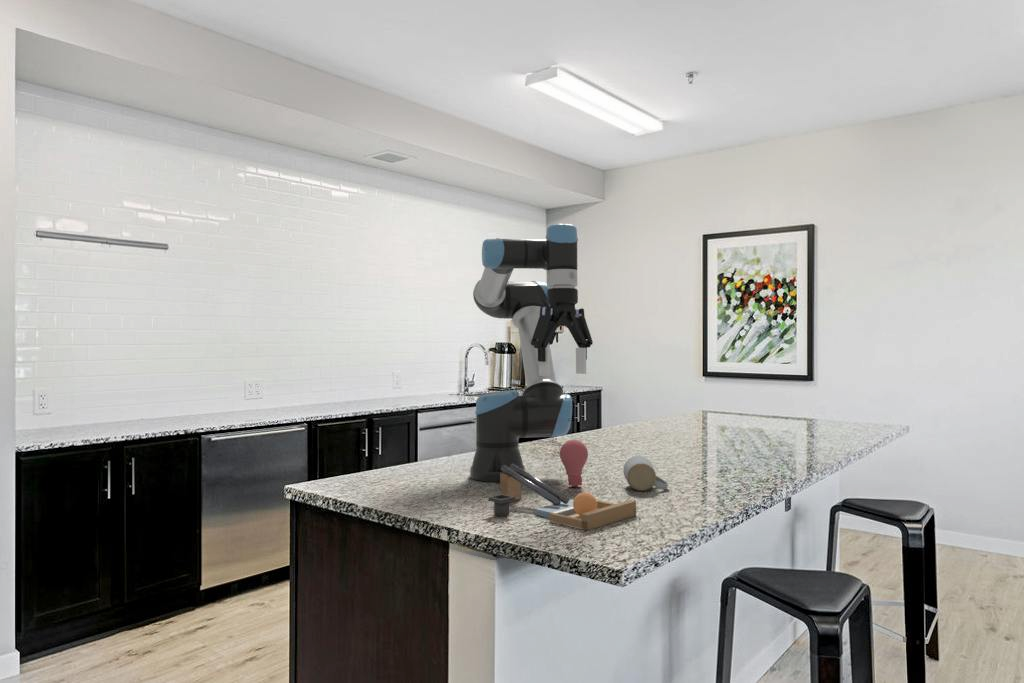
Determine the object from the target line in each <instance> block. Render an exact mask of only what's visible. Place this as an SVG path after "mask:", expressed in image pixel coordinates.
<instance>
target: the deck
mask: <svg viewBox="0 0 1024 683" xmlns="http://www.w3.org/2000/svg"><path fill="white" fill-rule="evenodd" d="M573 501H574V499H569V502H568V503H567V504H565V503H563V502H561V503H560V505H559V506H556V505H554V504H553V503H551V504H549V505H545V506H541V507H537V508H535V509H534V515H535V516H538V517H539V516H540V517H543V518H548V519H550V513H556V514H561V515H565V516H567V515H571V514H575V513H576V512H575V510H574V508H573Z"/></svg>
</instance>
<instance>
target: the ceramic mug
mask: <svg viewBox="0 0 1024 683" xmlns="http://www.w3.org/2000/svg"><path fill="white" fill-rule="evenodd" d="M623 476H624V478H625V480H626V482H627V484H628V485H629V486H630V488H632V489H633V490H635V491H637V492H645V491H646V492H647V491H648V490H650V489H651V488H653V487H655V488H656V489H657V488H658V489H659V490H663V491H666V490H667V489H668V486H669V483H668V481H666V480H664V479H663V478H662V477H660V476H657V473H656V471H655V468H654V465H653V463H652V462H651V460H650V459H649V458H647V457H645V456H642V455H634V456H631V457H629V458H628V459H627V460H626V462H625V463H624V465H623Z"/></svg>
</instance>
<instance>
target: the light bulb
mask: <svg viewBox="0 0 1024 683" xmlns="http://www.w3.org/2000/svg"><path fill="white" fill-rule="evenodd" d="M559 457H560V458H559V459H560V461H561V464H563V466H564V469H565V474H566V475H567V483H568V486H571V487H573V488H576V487H579V486H581V485H583V476H582V474H583V468H584V467H585V466H586V463H587V460H588V457H589V451H588V448H587V446H586V445H585V443H583V442H582V441H581V440H578V439H569V440H567V441H566V442H564V443H563V444H562V445H561V447H560V449H559Z"/></svg>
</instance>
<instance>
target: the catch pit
mask: <svg viewBox="0 0 1024 683" xmlns="http://www.w3.org/2000/svg"><path fill="white" fill-rule="evenodd" d="M596 501H597V509H596V510H593V511H589V512H586V513H582V514H581V516H580V515H578V514H577V513H575V514H571V515H567V516H565V515H561V514H556V513H550V518H549V522H550V523H554V524H558V525H562V524H563V525H564V526H566V527H571V528H575V529H578V530H584V531H587V532H588V531H591V530H595V529H598V528H601V527H604V526H607V525H610V524H613V523H616V522H620V521H623V520H626V519H629V518H633V517H637V500H633V499H632V500H631V499H629V500H626V501H622V502H617V503H612V502H608V501H604V500H603V501H602V500H600V499H598V500H596Z"/></svg>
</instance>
